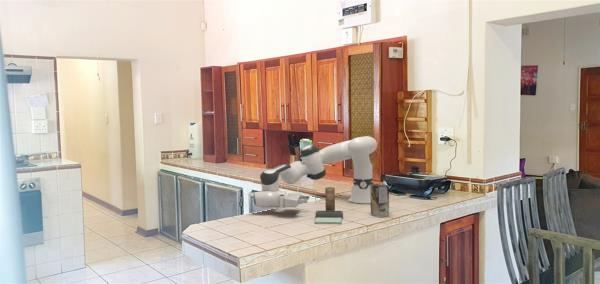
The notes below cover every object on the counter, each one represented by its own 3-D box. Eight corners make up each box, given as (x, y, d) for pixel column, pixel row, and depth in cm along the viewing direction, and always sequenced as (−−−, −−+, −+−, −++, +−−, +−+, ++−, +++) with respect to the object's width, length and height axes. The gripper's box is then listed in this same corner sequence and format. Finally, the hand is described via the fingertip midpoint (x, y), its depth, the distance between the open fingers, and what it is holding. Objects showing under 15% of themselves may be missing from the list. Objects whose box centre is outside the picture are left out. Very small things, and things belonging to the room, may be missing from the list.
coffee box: (389, 216, 239) (389, 185, 237) (378, 217, 236) (378, 186, 235) (380, 212, 247) (380, 183, 246) (370, 214, 245) (369, 184, 244)
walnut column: (326, 212, 250) (325, 187, 249) (335, 212, 249) (334, 187, 248) (325, 214, 245) (324, 188, 244) (334, 215, 244) (334, 188, 243)
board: (316, 219, 235) (316, 217, 235) (341, 219, 234) (341, 217, 234) (314, 223, 226) (314, 221, 226) (341, 224, 225) (341, 222, 225)
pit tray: (316, 216, 242) (316, 210, 242) (343, 216, 241) (343, 210, 240) (315, 218, 237) (315, 212, 237) (342, 218, 236) (342, 212, 235)
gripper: (285, 201, 260) (310, 201, 258) (280, 209, 240) (306, 209, 238) (285, 190, 259) (310, 190, 258) (279, 197, 239) (306, 197, 237)
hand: (308, 199), depth 248 cm, fingers open, 8 cm apart
